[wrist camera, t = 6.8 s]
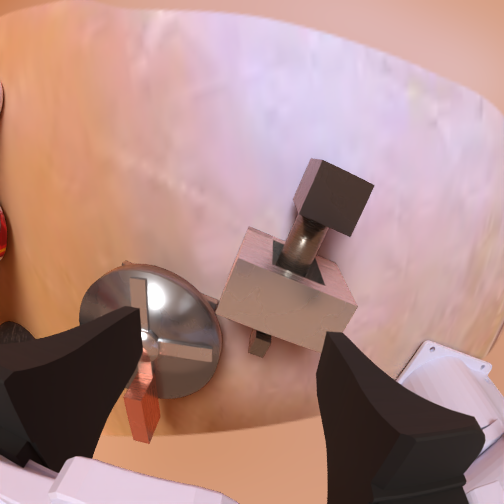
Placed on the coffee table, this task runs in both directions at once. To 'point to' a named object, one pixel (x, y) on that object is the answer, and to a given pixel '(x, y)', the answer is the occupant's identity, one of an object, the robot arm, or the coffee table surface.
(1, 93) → the spray bottle
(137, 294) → the handwheel
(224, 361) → the coffee table surface
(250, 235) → the square metal collar
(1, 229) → the soda can
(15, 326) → the travel mug
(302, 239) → the square dumbbell
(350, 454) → the robot arm
